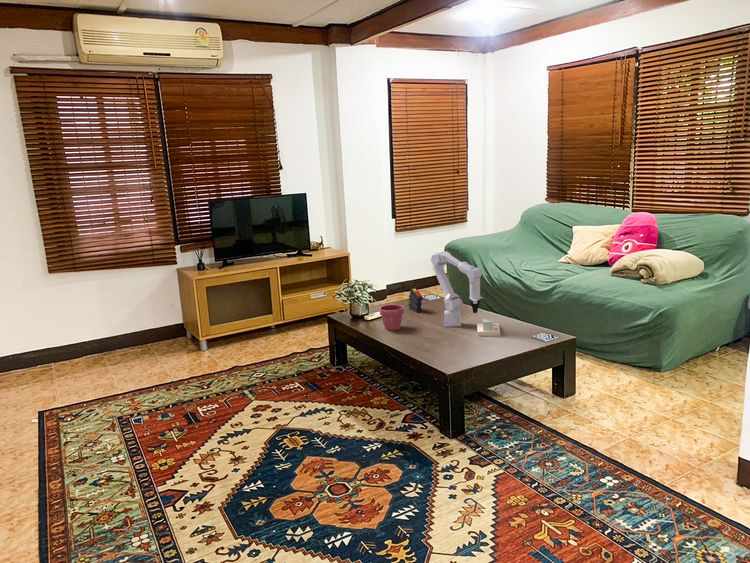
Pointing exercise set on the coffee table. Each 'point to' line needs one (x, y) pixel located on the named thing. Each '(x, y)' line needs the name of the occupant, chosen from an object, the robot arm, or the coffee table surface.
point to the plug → (487, 324)
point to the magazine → (415, 300)
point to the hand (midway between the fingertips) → (475, 312)
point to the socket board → (488, 333)
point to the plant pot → (392, 316)
